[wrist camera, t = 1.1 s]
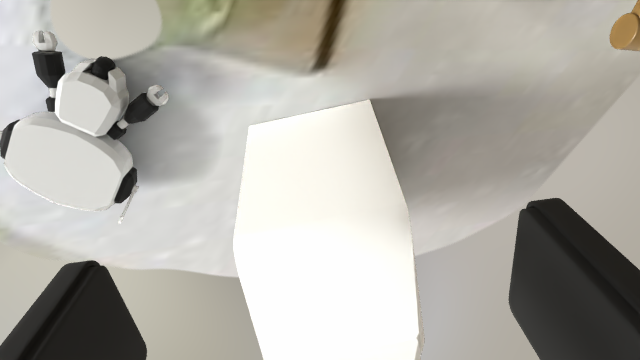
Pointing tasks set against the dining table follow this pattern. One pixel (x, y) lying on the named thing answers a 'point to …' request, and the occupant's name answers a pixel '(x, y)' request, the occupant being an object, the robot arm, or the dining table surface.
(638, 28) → the chest lid
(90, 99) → the robot toy
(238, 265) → the milk
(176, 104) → the dining table surface
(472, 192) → the dining table surface
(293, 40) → the dining table surface
